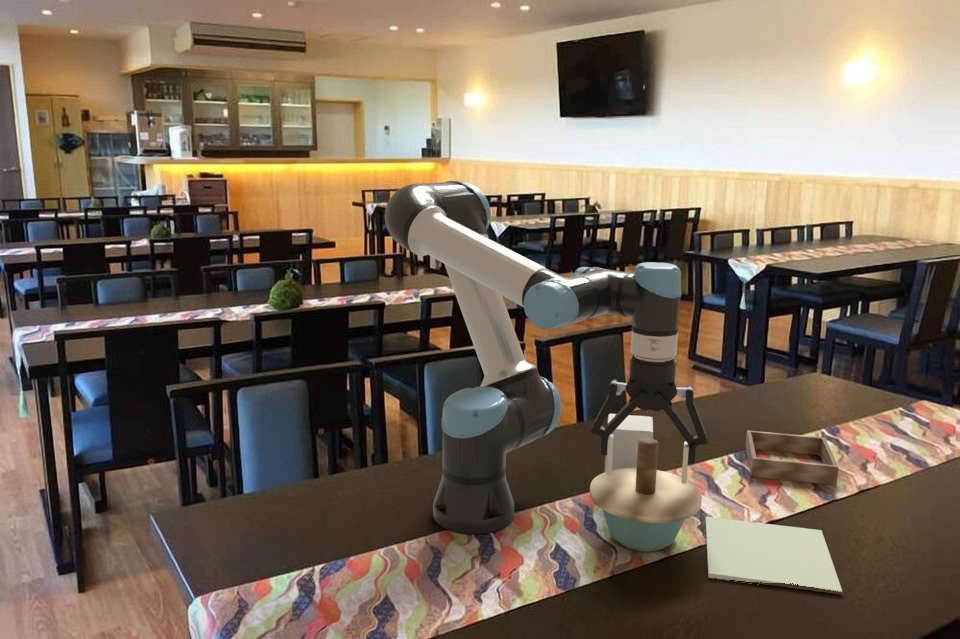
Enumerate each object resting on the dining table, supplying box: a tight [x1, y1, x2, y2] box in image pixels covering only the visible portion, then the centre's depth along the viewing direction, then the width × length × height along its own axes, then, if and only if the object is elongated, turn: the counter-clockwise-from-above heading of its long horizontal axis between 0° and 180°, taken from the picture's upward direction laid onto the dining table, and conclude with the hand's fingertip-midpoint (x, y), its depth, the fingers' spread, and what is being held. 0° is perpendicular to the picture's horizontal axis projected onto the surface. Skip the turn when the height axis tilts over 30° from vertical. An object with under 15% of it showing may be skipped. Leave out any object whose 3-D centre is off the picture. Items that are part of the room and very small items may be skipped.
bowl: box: [602, 510, 686, 553], centre depth 140 cm, size 16×16×8 cm
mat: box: [705, 516, 843, 593], centre depth 136 cm, size 20×20×1 cm
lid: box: [589, 438, 703, 523], centre depth 137 cm, size 19×19×10 cm
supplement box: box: [604, 413, 654, 472], centre depth 157 cm, size 9×9×15 cm
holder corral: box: [744, 429, 839, 486], centre depth 172 cm, size 17×17×4 cm
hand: (646, 476), depth 138 cm, fingers open, 12 cm apart
